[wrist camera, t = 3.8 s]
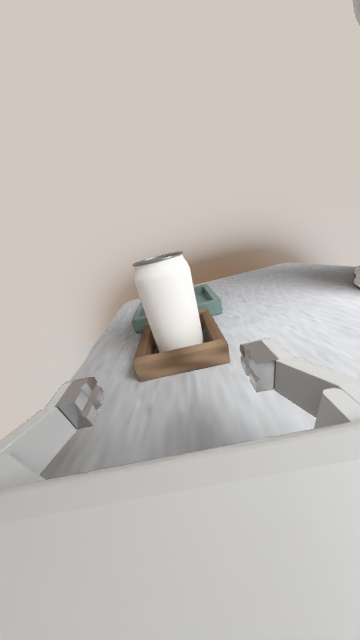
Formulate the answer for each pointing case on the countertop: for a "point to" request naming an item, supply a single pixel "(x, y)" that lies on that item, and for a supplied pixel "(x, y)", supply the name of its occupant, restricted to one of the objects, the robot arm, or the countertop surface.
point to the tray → (203, 299)
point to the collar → (181, 353)
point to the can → (169, 301)
